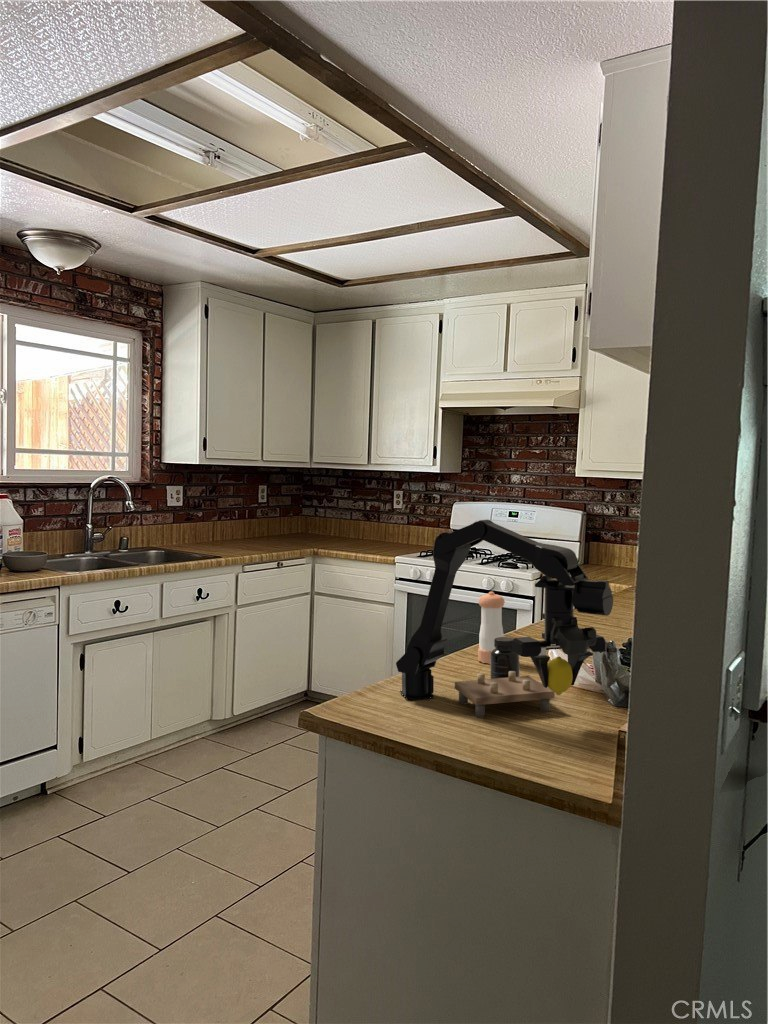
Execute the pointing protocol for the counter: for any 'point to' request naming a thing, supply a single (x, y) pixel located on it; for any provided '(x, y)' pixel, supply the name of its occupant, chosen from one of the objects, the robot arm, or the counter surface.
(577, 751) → the counter surface
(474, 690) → the peg shelf
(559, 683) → the lemon
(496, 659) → the supplement bottle
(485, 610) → the pepper shaker
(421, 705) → the counter surface
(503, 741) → the counter surface
